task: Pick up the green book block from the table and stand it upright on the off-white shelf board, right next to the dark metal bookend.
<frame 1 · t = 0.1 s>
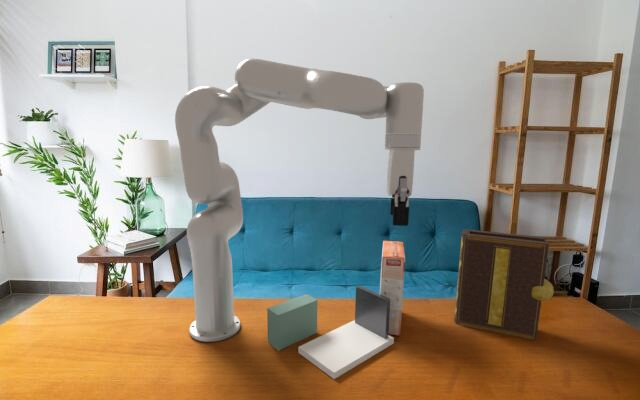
hand: (398, 219, 81), 31 cm above the table, tool pointing down, fingers open, 9 cm apart
shelf board: (347, 347, 86), on the table
book: (498, 327, 96), on the table
bookend: (370, 335, 91), resting on shelf board
book block: (293, 337, 90), on the table
cracker box: (389, 322, 98), on the table
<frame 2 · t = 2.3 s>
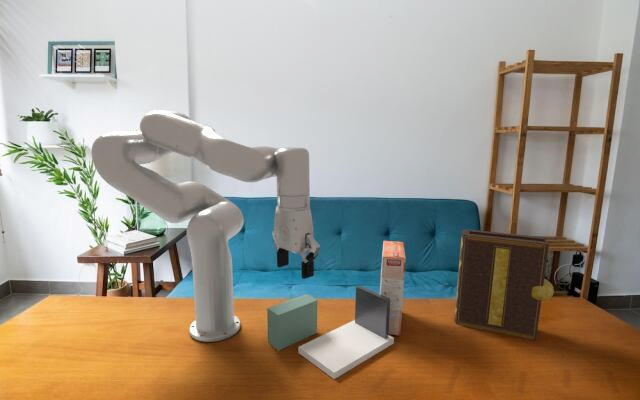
hand: (294, 271, 87), 17 cm above the table, tool pointing down, fingers open, 9 cm apart
nothing on the table moved.
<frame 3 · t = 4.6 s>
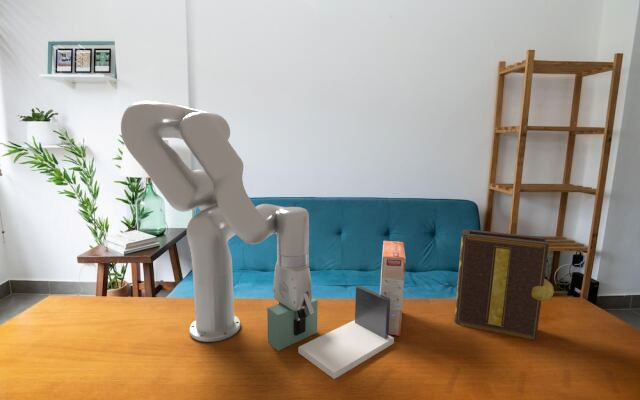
hand: (293, 328, 89), 2 cm above the table, tool pointing down, fingers closed on book block, 4 cm apart
book block: (293, 337, 90), on the table, touching gripper
everything else where it was.
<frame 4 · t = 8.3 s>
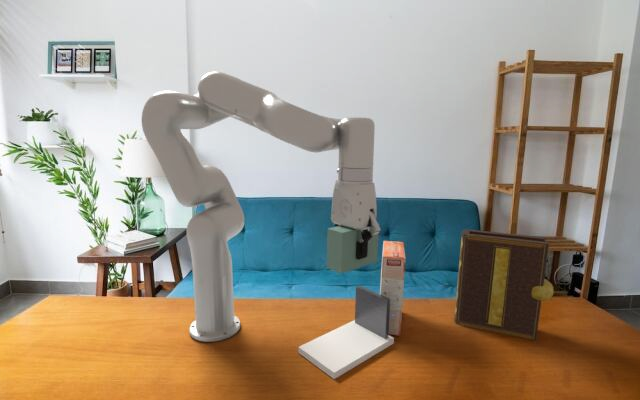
hand: (353, 254, 82), 23 cm above the table, tool pointing down, fingers closed on book block, 4 cm apart
book block: (352, 264, 83), point 21 cm above the table, touching gripper
everything else where it was.
when the fingers open (5 cm above the table, at t = 12.3 s): book block drops 1 cm, resting on shelf board.
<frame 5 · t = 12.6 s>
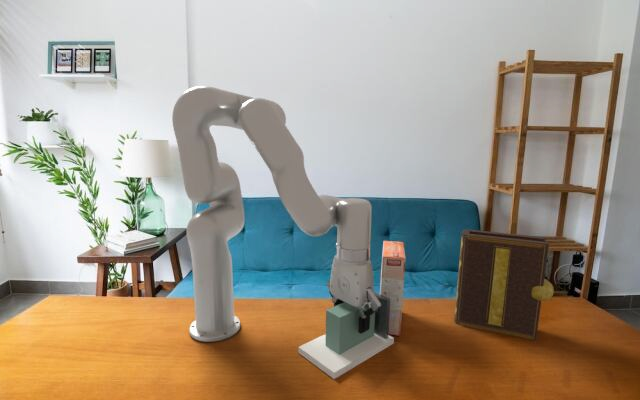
hand: (351, 323, 85), 6 cm above the table, tool pointing down, fingers open, 7 cm apart
book block: (350, 340, 86), point 1 cm above the table, touching shelf board
everything else where it was.
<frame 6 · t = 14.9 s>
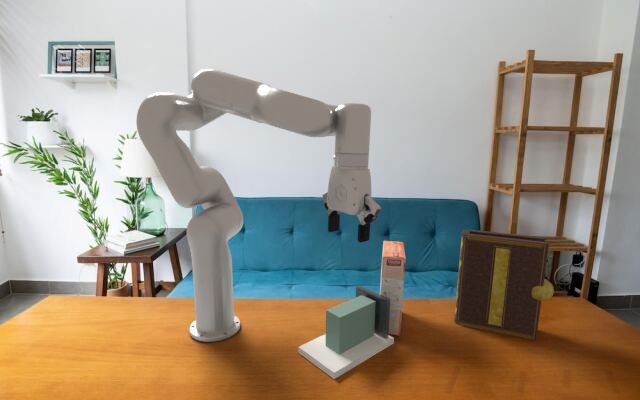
hand: (347, 235, 83), 27 cm above the table, tool pointing down, fingers open, 9 cm apart
nothing on the table moved.
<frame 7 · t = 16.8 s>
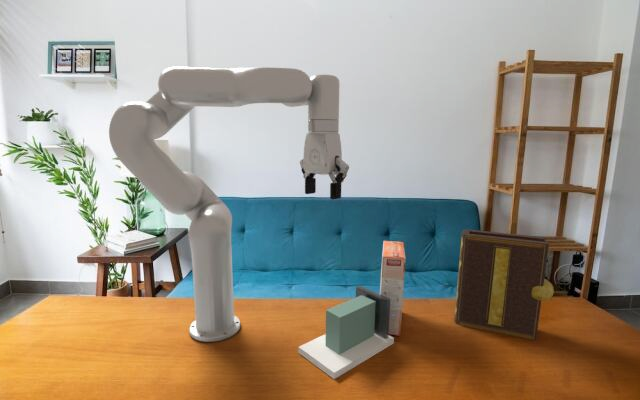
hand: (322, 196, 92), 34 cm above the table, tool pointing down, fingers open, 9 cm apart
nothing on the table moved.
at the end: book block 0.2 cm from the target spot, point 1.5 cm above the table; book block tilted 0°; the gripper is holding nothing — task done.
